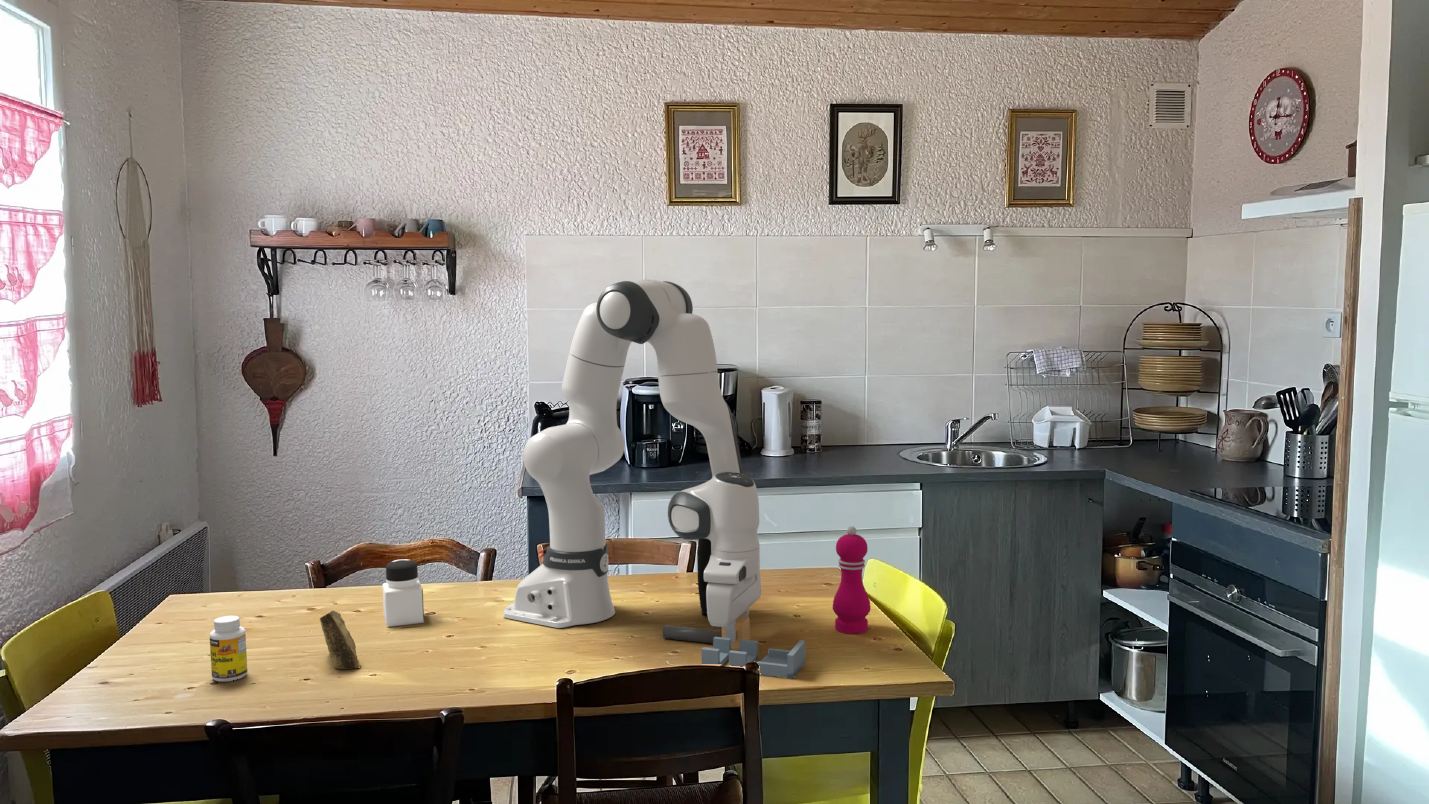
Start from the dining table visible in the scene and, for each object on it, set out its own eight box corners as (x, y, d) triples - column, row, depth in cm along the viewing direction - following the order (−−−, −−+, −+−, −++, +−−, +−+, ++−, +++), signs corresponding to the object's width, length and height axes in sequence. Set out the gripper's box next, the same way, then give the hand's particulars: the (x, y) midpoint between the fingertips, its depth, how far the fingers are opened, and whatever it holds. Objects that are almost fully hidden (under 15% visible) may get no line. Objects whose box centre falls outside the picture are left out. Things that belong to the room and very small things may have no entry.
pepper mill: (869, 635, 198) (869, 531, 196) (830, 633, 199) (830, 529, 197) (871, 624, 205) (872, 522, 203) (834, 622, 207) (834, 521, 204)
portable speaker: (750, 611, 214) (750, 517, 212) (724, 624, 206) (724, 525, 204) (715, 604, 219) (715, 512, 217) (689, 616, 211) (688, 520, 209)
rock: (315, 639, 193) (294, 649, 183) (343, 600, 193) (325, 609, 183) (362, 674, 193) (345, 686, 183) (391, 636, 193) (375, 646, 183)
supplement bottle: (204, 682, 178) (201, 623, 177) (225, 670, 183) (221, 613, 182) (235, 683, 177) (231, 624, 176) (254, 672, 182) (251, 614, 181)
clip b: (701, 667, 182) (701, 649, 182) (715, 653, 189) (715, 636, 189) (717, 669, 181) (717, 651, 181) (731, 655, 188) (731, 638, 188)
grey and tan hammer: (661, 641, 196) (660, 615, 196) (669, 634, 200) (668, 608, 200) (742, 650, 191) (742, 623, 190) (749, 643, 195) (749, 616, 194)
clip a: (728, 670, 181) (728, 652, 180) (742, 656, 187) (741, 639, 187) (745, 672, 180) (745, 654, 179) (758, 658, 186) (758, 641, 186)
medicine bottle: (424, 623, 209) (421, 563, 208) (386, 627, 206) (384, 567, 205) (420, 613, 215) (417, 555, 214) (383, 617, 213) (381, 559, 212)
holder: (753, 674, 179) (753, 651, 178) (767, 658, 186) (766, 636, 186) (793, 678, 176) (793, 655, 176) (805, 663, 184) (805, 640, 183)
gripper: (737, 548, 203) (738, 618, 204) (699, 575, 183) (701, 652, 185) (768, 550, 200) (769, 621, 202) (734, 577, 181) (735, 655, 183)
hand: (736, 636), depth 193 cm, fingers closed on grey and tan hammer, 4 cm apart
